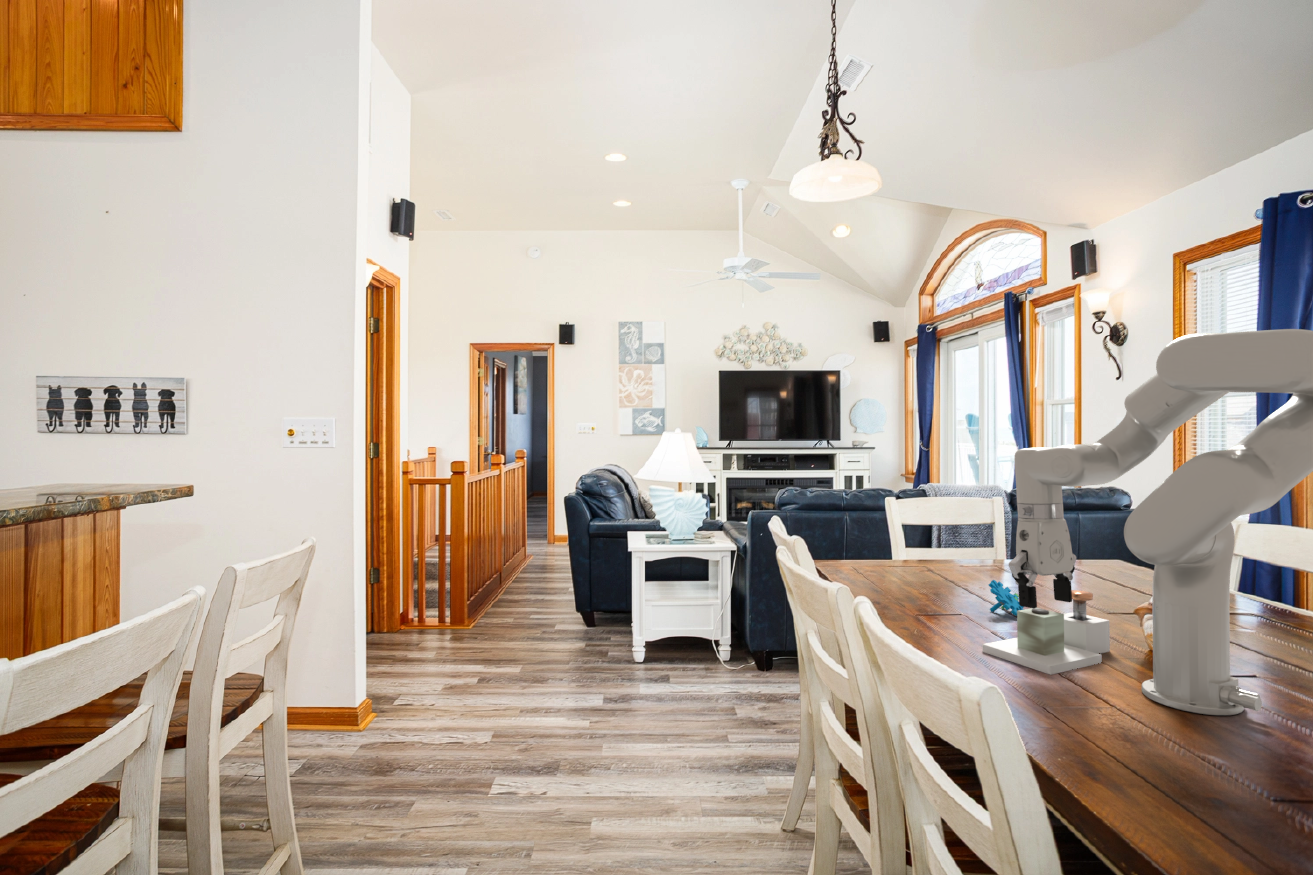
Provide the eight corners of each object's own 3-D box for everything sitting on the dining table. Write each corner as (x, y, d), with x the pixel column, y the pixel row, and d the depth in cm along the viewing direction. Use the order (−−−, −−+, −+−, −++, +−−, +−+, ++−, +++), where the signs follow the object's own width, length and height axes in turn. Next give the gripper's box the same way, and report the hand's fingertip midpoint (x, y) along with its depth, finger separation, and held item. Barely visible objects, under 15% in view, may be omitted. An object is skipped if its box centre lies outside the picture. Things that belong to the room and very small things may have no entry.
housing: (1064, 651, 125) (1063, 611, 125) (1044, 655, 123) (1044, 615, 123) (1037, 643, 130) (1036, 605, 130) (1017, 647, 128) (1017, 608, 128)
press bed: (1128, 656, 126) (1128, 624, 126) (1050, 674, 117) (1050, 640, 117) (1057, 636, 139) (1057, 607, 139) (982, 651, 130) (982, 620, 130)
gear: (1016, 614, 150) (986, 578, 156) (996, 629, 153) (967, 593, 159) (1036, 613, 157) (1006, 578, 163) (1017, 627, 160) (988, 592, 166)
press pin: (1098, 624, 130) (1098, 593, 130) (1083, 627, 128) (1083, 596, 128) (1076, 619, 134) (1075, 589, 134) (1061, 621, 132) (1061, 591, 132)
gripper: (1026, 516, 119) (1032, 613, 119) (1089, 510, 126) (1095, 602, 126) (990, 514, 126) (996, 606, 125) (1052, 509, 133) (1057, 595, 132)
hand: (1046, 603), depth 125 cm, fingers open, 9 cm apart
